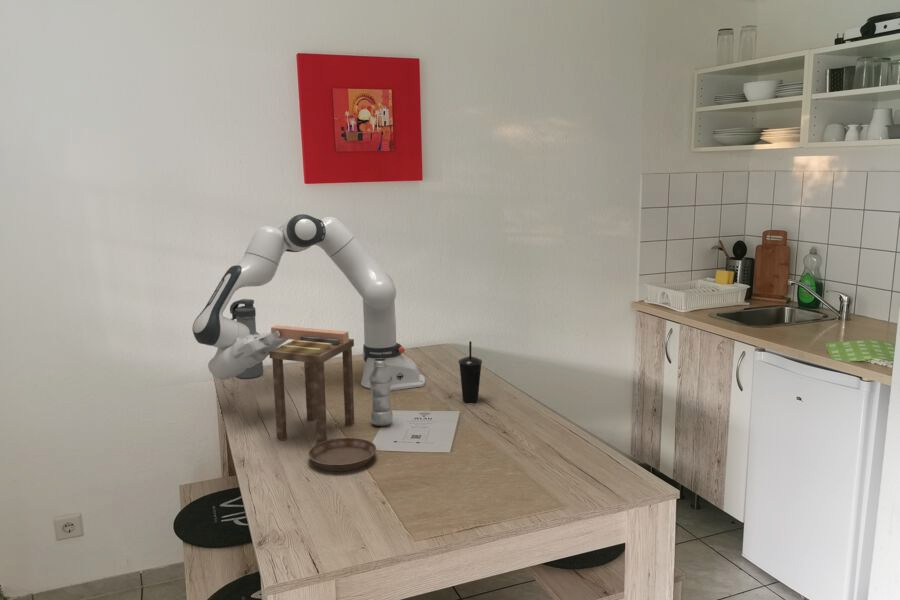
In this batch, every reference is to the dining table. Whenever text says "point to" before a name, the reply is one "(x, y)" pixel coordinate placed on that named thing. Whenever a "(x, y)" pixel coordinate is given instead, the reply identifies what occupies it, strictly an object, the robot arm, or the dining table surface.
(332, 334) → the terracotta bar
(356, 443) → the plant saucer
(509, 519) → the dining table surface
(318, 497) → the dining table surface
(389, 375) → the plastic bottle
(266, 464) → the dining table surface
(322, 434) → the walnut stool
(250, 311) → the water bottle
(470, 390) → the drinking cup
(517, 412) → the dining table surface
